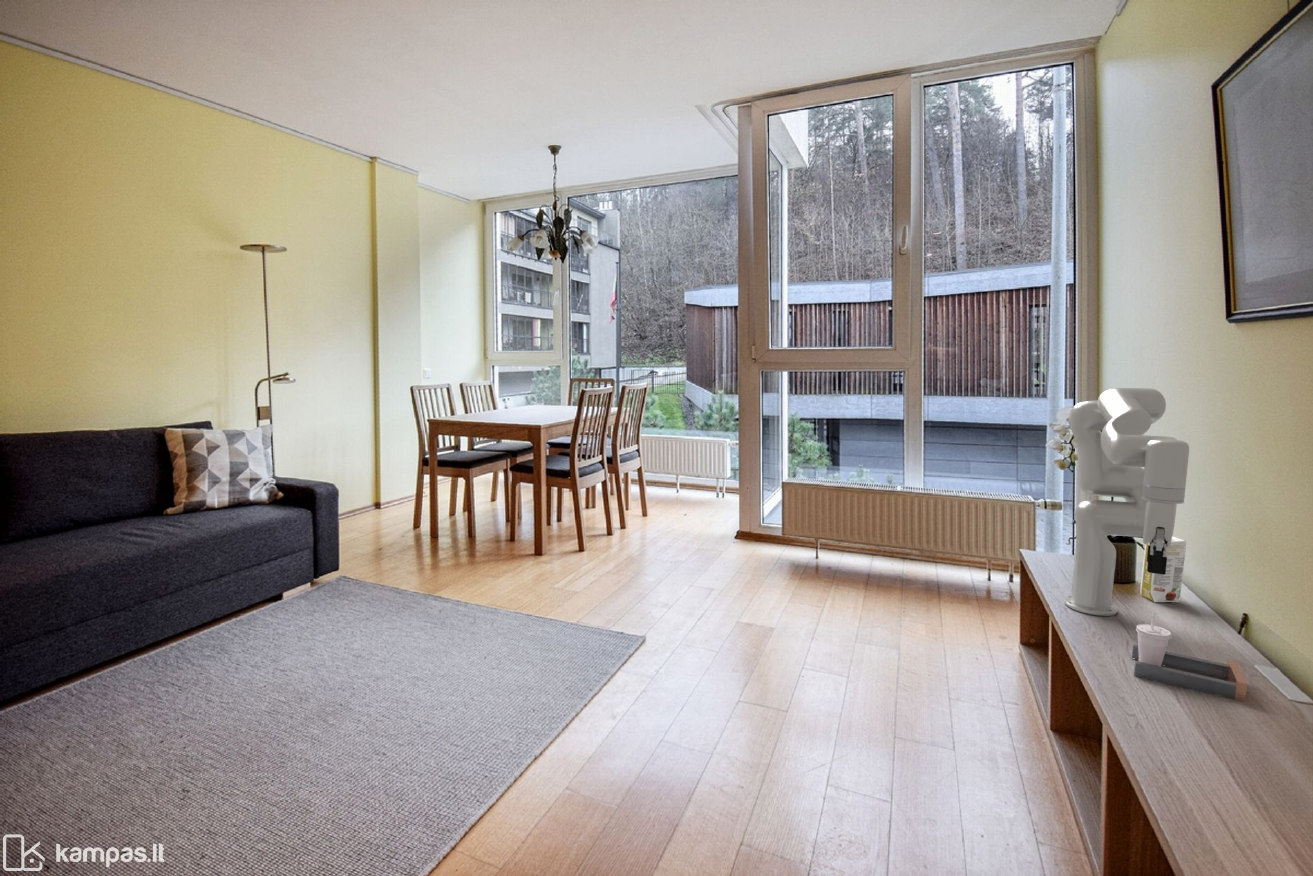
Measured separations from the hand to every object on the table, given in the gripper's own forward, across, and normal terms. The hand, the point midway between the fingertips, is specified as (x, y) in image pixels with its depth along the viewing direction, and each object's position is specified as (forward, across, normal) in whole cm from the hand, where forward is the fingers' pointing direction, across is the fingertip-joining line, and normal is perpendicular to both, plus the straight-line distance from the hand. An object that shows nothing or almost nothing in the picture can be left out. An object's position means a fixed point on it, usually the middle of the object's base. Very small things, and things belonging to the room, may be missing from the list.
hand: (1155, 568), depth 143 cm
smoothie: (+24, 0, +1) cm, 24 cm away
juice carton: (+23, -56, +3) cm, 61 cm away
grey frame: (+24, -1, +6) cm, 25 cm away
